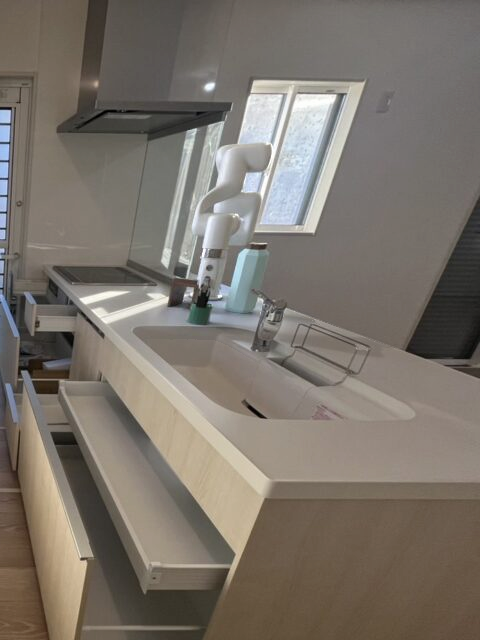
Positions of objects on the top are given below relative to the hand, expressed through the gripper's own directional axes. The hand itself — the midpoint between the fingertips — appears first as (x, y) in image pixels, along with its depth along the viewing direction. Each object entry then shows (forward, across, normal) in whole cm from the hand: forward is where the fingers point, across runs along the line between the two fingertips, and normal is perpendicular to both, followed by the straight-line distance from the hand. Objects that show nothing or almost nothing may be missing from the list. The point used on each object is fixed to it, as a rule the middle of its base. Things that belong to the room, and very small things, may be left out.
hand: (201, 304), depth 143 cm
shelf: (+6, +24, +6) cm, 26 cm away
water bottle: (+6, +26, -12) cm, 29 cm away
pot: (+6, 0, 0) cm, 6 cm away
